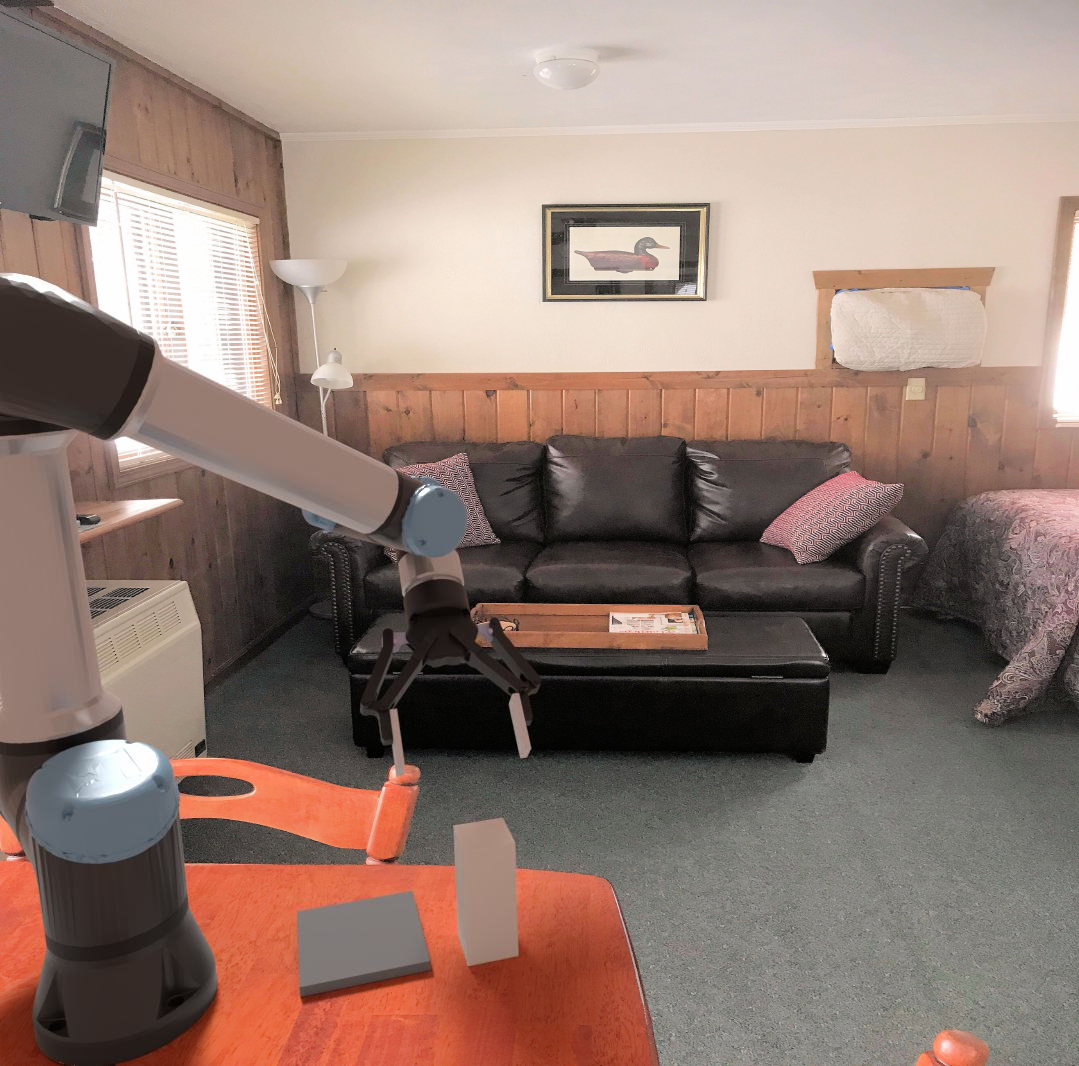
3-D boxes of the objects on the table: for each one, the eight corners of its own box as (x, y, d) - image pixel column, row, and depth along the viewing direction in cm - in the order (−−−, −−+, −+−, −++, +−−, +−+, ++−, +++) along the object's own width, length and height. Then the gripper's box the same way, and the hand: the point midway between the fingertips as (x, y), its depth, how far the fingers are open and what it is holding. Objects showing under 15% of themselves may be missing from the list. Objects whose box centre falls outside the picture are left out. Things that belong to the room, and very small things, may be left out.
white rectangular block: (468, 966, 85) (463, 851, 83) (458, 935, 90) (453, 825, 88) (518, 956, 87) (515, 842, 84) (506, 925, 91) (502, 817, 89)
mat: (300, 997, 82) (299, 987, 81) (297, 920, 93) (296, 911, 93) (430, 970, 85) (430, 960, 85) (412, 899, 96) (412, 890, 96)
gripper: (529, 598, 113) (568, 758, 102) (327, 618, 106) (345, 792, 95) (540, 566, 107) (582, 733, 96) (327, 585, 100) (345, 767, 89)
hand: (464, 762), depth 95 cm, fingers open, 13 cm apart
